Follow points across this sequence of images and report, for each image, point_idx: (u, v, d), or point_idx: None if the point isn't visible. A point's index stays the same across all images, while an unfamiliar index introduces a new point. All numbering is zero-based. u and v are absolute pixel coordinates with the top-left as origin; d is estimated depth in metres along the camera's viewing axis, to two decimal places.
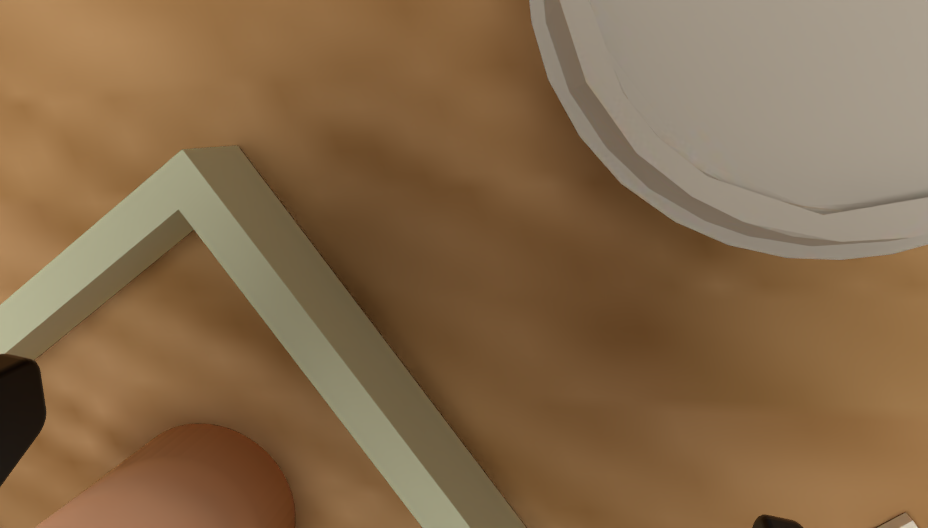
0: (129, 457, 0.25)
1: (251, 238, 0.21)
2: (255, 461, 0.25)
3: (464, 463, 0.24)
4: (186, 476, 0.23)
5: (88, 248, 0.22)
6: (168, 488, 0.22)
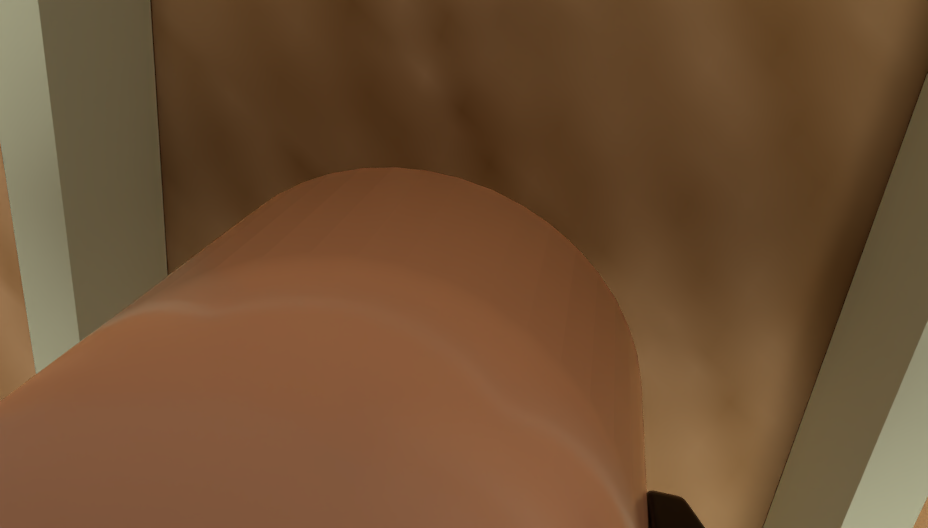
0: (412, 235, 0.07)
1: None
2: None
3: None
4: (627, 505, 0.06)
5: None
6: None
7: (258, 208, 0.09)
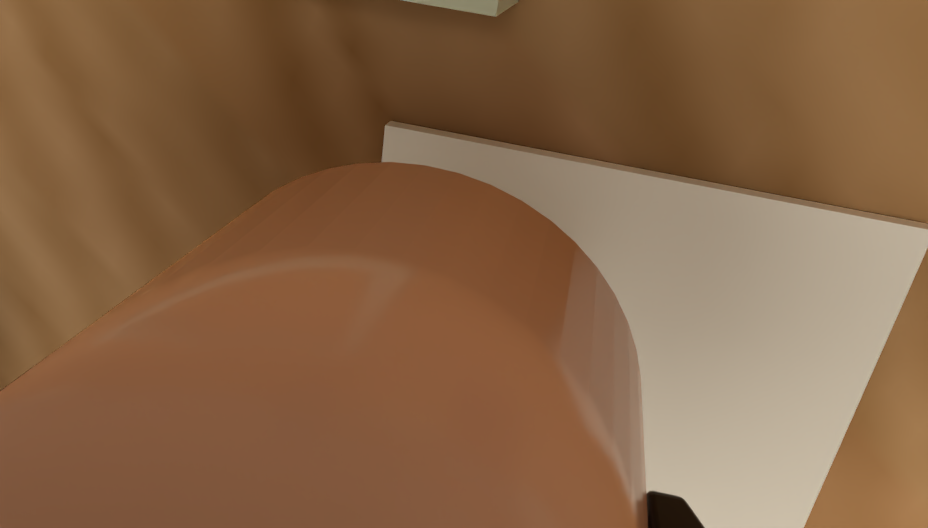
0: (410, 229, 0.07)
1: None
2: None
3: None
4: (628, 499, 0.06)
5: None
6: None
7: (256, 203, 0.09)
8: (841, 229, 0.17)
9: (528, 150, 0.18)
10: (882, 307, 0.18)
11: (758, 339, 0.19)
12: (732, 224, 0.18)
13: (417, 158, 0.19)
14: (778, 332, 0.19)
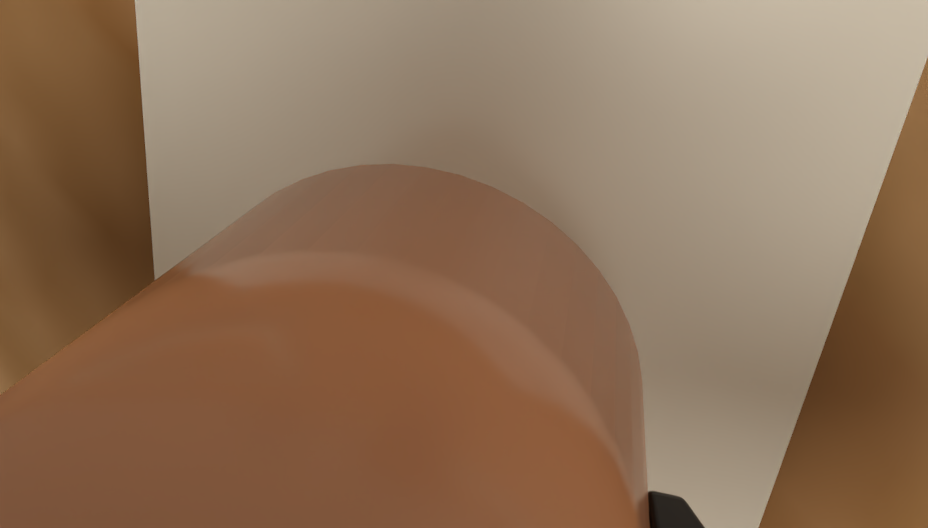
0: (411, 232, 0.07)
1: None
2: None
3: None
4: (630, 503, 0.06)
5: None
6: None
7: (257, 205, 0.09)
8: None
9: None
10: (888, 87, 0.12)
11: (701, 157, 0.12)
12: None
13: None
14: (730, 143, 0.12)
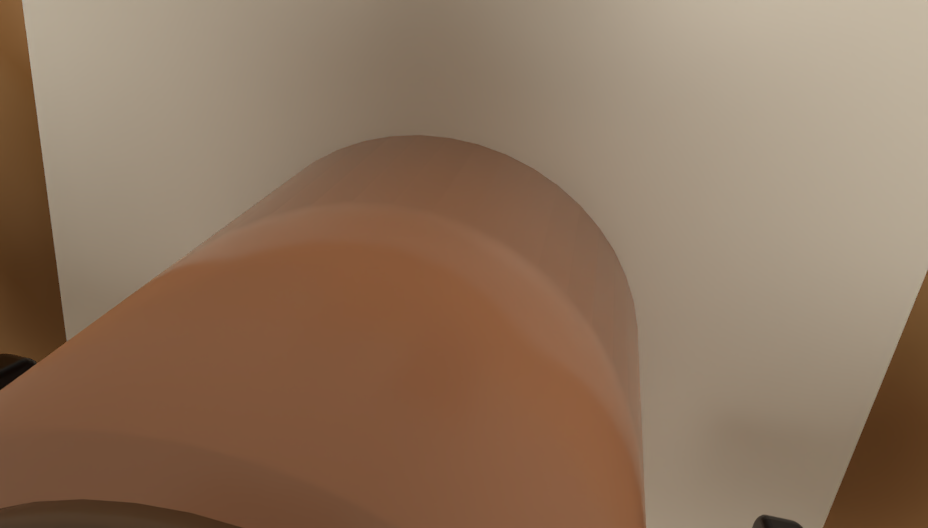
0: (441, 186, 0.09)
1: None
2: None
3: None
4: (624, 405, 0.08)
5: None
6: (620, 450, 0.07)
7: (301, 171, 0.10)
8: None
9: None
10: None
11: (713, 208, 0.10)
12: None
13: None
14: (750, 191, 0.10)
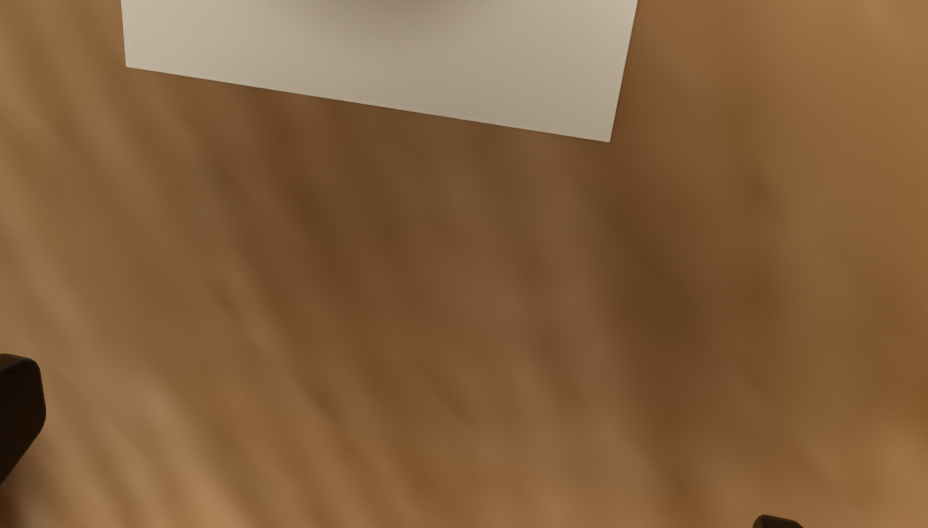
0: None
1: None
2: None
3: None
4: None
5: None
6: None
7: None
8: None
9: None
10: None
11: None
12: None
13: None
14: None
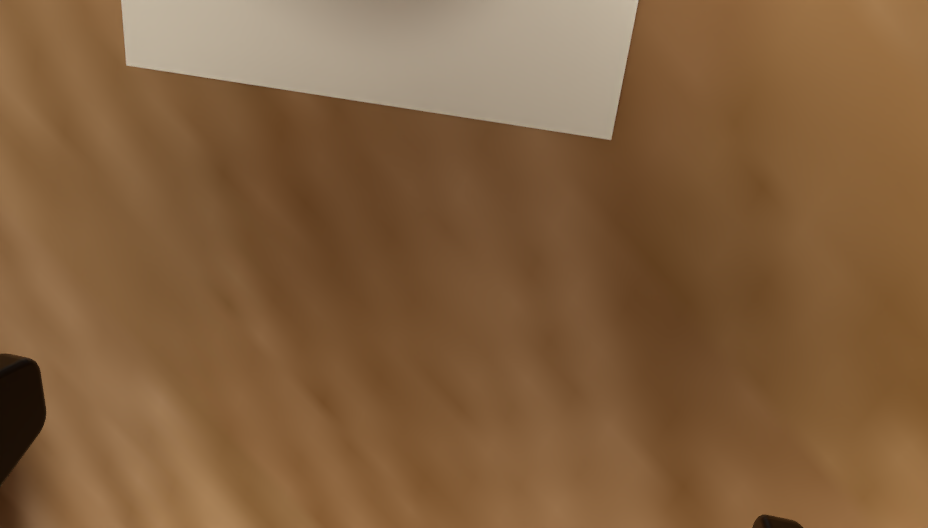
0: None
1: None
2: None
3: None
4: None
5: None
6: None
7: None
8: None
9: None
10: None
11: None
12: None
13: None
14: None
